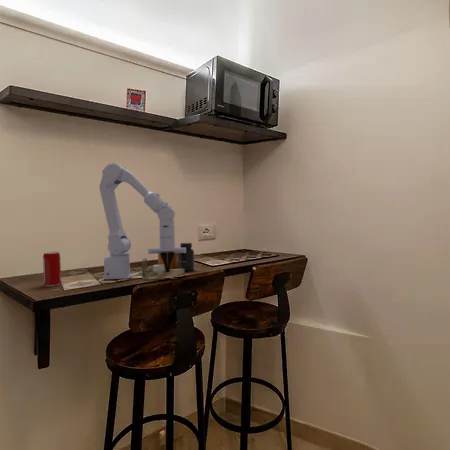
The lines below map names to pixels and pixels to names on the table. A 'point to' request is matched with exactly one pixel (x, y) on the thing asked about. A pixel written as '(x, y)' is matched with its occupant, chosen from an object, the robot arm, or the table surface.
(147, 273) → the gauge bed
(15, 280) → the table surface
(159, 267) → the carriage
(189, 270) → the supplement bottle
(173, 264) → the mug
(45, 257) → the soda can
